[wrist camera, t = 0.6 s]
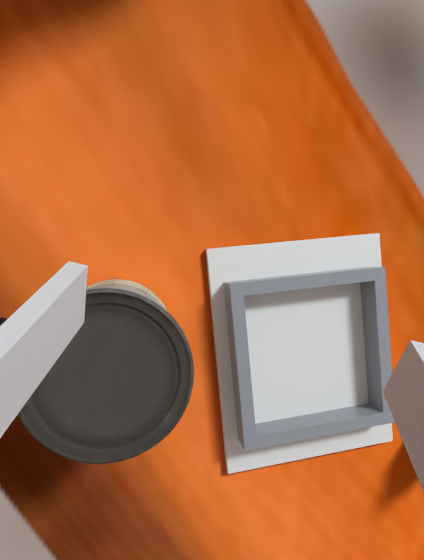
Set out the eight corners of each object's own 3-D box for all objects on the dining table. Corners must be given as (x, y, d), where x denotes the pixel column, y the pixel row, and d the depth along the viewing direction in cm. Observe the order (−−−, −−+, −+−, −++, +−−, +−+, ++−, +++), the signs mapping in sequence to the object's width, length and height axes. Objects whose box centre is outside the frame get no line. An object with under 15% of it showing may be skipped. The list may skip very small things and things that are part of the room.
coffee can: (177, 379, 38) (201, 448, 24) (65, 395, 36) (20, 480, 22) (167, 273, 37) (186, 280, 23) (53, 283, 35) (-1, 298, 21)
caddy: (205, 249, 38) (211, 248, 34) (374, 233, 41) (395, 231, 38) (226, 469, 39) (234, 488, 36) (388, 437, 42) (408, 452, 39)
